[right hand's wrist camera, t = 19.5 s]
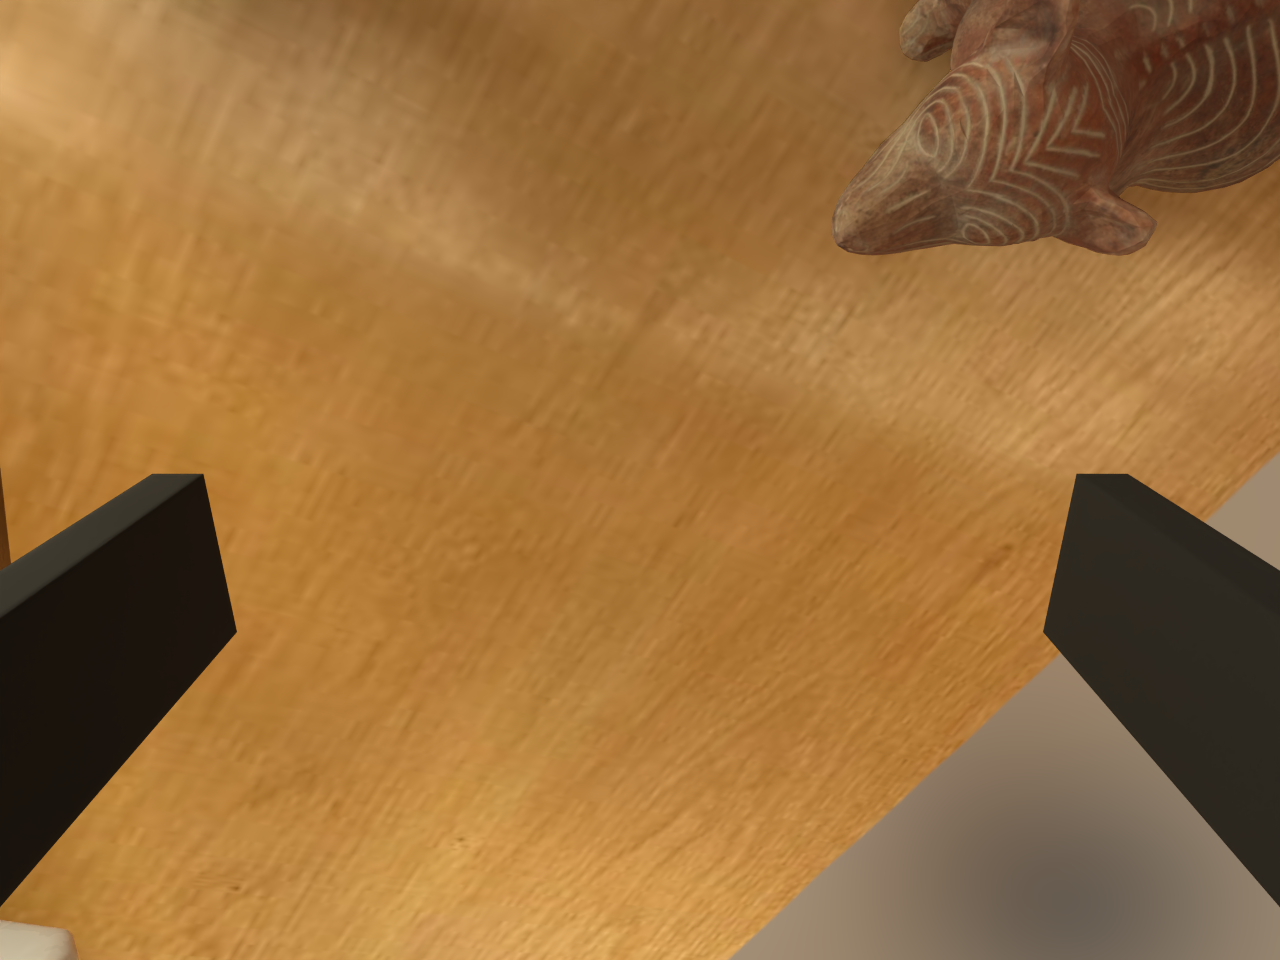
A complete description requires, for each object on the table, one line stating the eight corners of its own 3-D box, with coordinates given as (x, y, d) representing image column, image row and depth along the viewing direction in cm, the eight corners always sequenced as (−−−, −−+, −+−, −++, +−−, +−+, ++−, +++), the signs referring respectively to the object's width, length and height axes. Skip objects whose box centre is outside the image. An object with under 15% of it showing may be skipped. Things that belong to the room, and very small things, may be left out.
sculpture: (721, 108, 37) (770, 75, 23) (1255, -263, 32) (1729, -590, 18) (859, 358, 41) (972, 457, 27) (1350, 64, 36) (1793, 2, 22)
